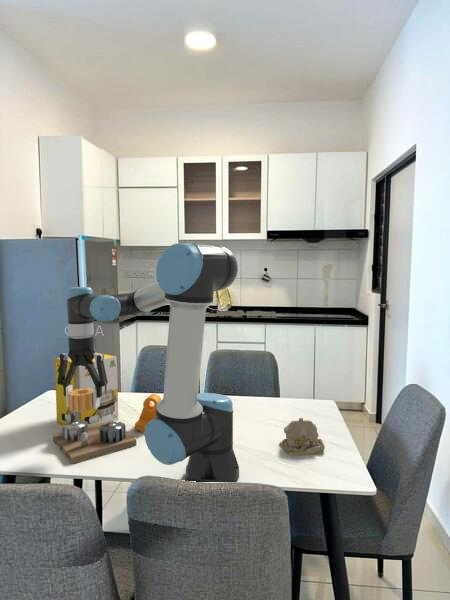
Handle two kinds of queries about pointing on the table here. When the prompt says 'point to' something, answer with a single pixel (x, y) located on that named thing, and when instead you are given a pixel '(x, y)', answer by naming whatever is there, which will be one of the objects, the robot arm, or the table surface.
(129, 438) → the gear board
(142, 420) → the bracket
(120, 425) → the gear
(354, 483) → the table surface
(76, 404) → the orange gear
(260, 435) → the table surface
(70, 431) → the gear
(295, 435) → the ceramic model
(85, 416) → the packaging box
